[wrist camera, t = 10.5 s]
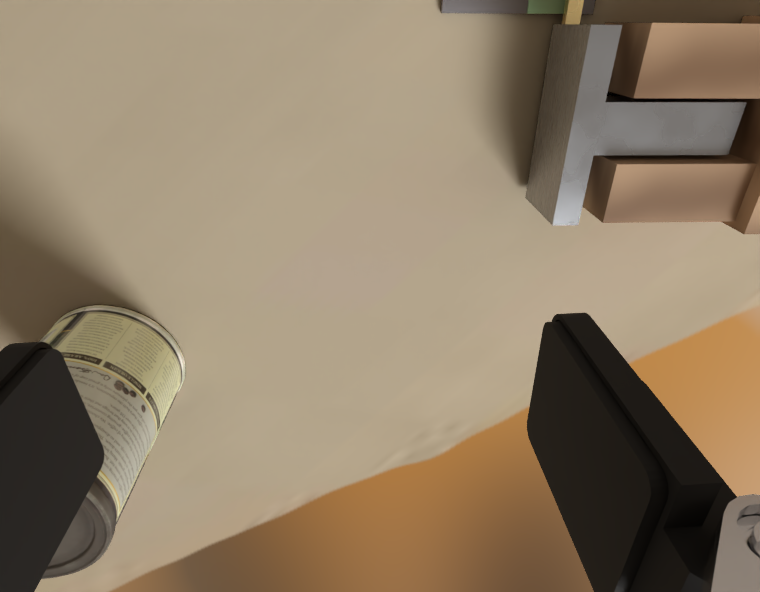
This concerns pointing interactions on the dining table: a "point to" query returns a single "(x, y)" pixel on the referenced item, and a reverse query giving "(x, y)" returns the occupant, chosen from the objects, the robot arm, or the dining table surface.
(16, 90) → the dining table surface
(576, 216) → the grey angular frame piece
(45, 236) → the dining table surface
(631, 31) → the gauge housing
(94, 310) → the coffee can
